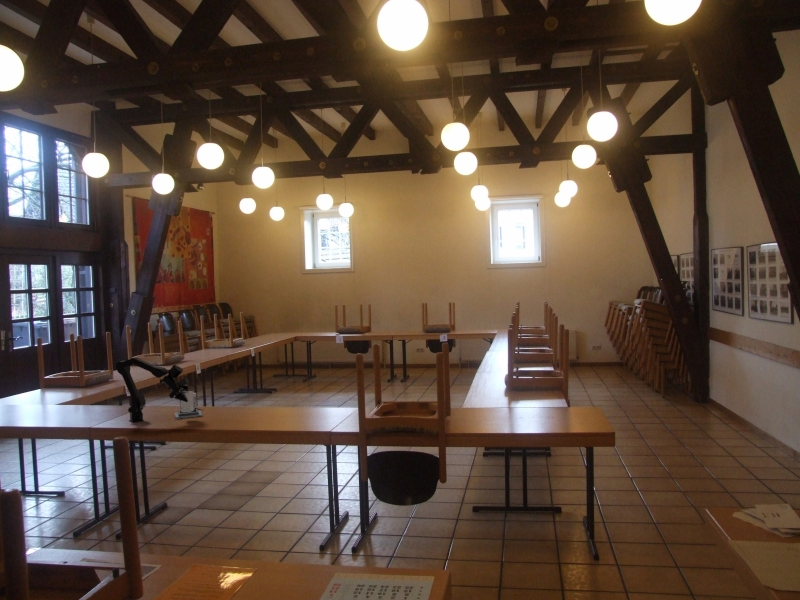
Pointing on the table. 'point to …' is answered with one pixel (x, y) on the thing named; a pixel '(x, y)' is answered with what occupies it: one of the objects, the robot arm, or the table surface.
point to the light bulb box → (193, 401)
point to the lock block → (187, 405)
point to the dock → (188, 414)
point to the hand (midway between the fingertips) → (189, 400)
